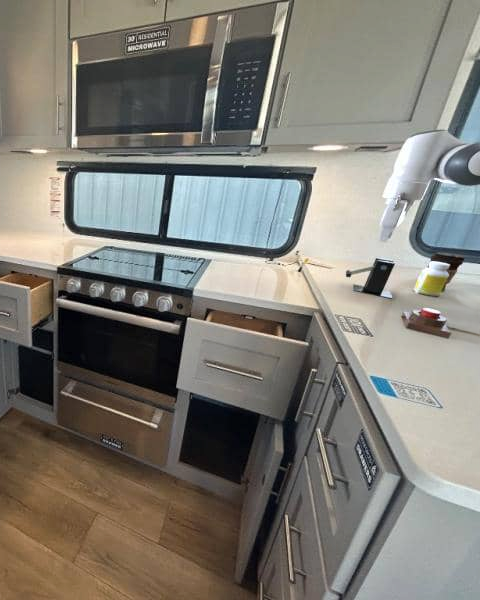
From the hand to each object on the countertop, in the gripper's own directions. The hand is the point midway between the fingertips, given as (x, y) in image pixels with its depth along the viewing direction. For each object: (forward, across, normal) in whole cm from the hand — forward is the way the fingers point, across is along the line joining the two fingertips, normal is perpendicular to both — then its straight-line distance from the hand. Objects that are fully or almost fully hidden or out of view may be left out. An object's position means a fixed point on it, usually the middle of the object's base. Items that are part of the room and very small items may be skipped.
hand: (384, 239), depth 101 cm
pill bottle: (+19, +22, -14) cm, 33 cm away
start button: (+16, -14, -15) cm, 26 cm away
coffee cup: (+19, +35, -16) cm, 43 cm away
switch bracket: (+19, +6, -2) cm, 20 cm away
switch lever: (+12, +6, +1) cm, 14 cm away
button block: (+19, -14, -15) cm, 28 cm away
